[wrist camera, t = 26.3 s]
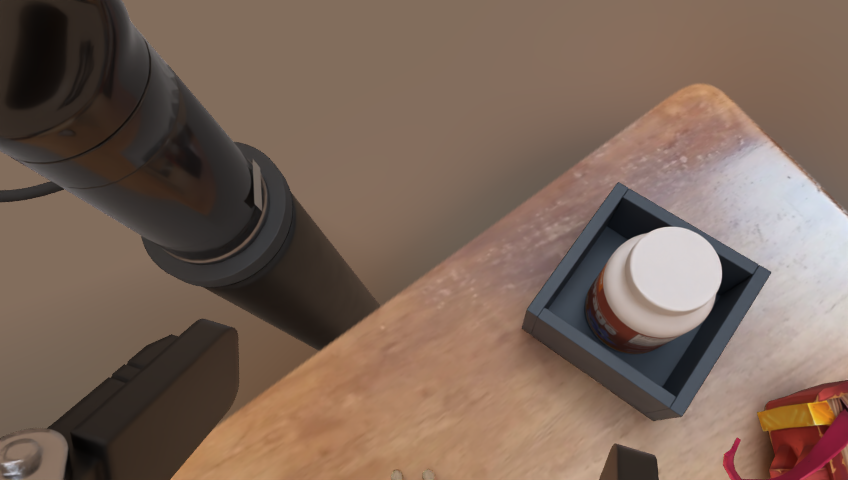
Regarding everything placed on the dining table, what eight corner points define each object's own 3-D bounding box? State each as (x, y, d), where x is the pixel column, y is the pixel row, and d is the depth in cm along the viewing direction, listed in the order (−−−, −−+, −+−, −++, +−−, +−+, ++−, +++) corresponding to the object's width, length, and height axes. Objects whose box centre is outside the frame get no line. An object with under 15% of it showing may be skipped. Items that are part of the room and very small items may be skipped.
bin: (521, 328, 42) (526, 309, 37) (601, 216, 45) (618, 181, 39) (653, 421, 40) (682, 417, 34) (732, 296, 42) (772, 271, 36)
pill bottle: (579, 271, 43) (608, 214, 32) (667, 267, 42) (725, 208, 32) (588, 357, 41) (622, 327, 30) (681, 355, 40) (748, 323, 30)
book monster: (903, 536, 36) (698, 552, 37) (850, 385, 39) (663, 405, 40) (1046, 566, 26) (759, 586, 27) (959, 360, 29) (707, 388, 31)
